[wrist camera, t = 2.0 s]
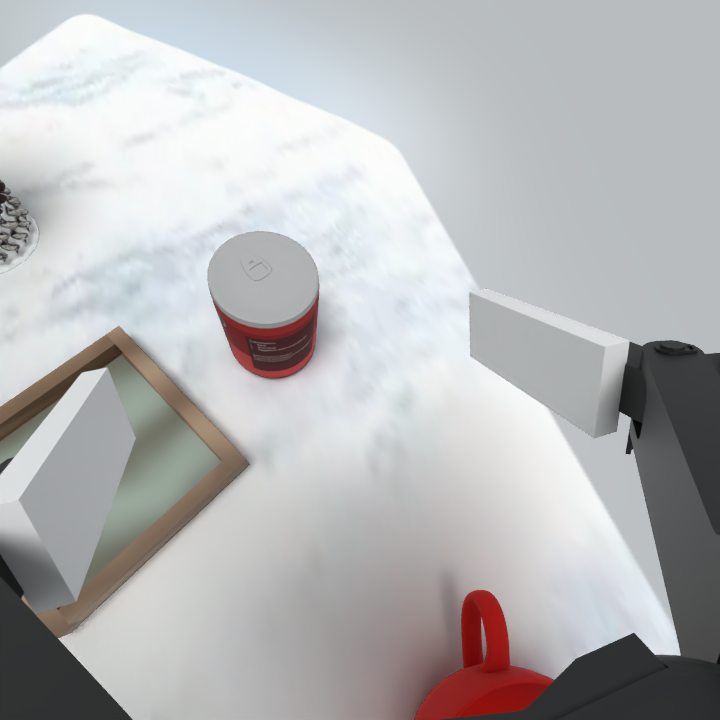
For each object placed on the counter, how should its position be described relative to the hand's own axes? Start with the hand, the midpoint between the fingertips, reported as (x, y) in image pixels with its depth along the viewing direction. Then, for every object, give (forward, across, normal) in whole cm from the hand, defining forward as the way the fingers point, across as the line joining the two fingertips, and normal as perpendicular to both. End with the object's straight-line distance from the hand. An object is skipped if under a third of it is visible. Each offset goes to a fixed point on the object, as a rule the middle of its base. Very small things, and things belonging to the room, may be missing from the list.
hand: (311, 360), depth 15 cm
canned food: (+24, 0, -8) cm, 25 cm away
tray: (+18, -16, -13) cm, 27 cm away
